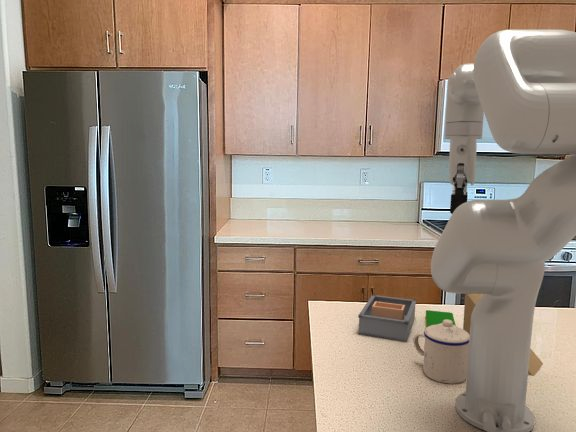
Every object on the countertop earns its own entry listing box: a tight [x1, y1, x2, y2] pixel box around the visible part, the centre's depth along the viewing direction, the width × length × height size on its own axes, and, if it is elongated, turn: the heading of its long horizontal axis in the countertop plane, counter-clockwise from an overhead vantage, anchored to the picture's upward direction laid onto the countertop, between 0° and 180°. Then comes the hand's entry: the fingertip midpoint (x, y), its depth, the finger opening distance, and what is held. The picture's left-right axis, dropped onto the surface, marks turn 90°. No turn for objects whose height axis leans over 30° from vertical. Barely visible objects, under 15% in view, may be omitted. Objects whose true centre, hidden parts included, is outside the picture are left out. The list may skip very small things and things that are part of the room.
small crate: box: [372, 301, 405, 320], centre depth 119 cm, size 4×8×5 cm, turn 68°
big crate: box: [357, 294, 417, 343], centre depth 119 cm, size 18×12×5 cm
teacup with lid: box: [413, 319, 470, 385], centre depth 93 cm, size 12×9×12 cm
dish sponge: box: [425, 309, 457, 329], centre depth 119 cm, size 7×14×2 cm, turn 165°
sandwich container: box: [462, 294, 544, 377], centre depth 99 cm, size 9×15×15 cm, turn 48°
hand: (458, 211), depth 97 cm, fingers open, 9 cm apart
